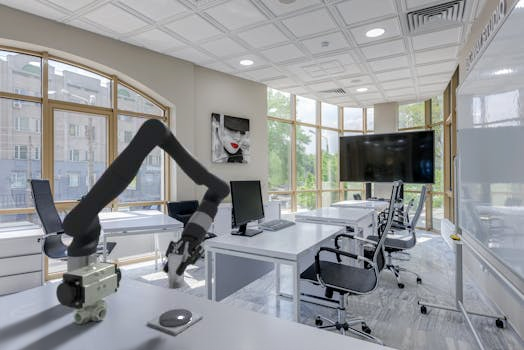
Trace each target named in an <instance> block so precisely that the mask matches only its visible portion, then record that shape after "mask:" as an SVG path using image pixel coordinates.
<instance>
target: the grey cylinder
mask: <svg viewBox="0 0 524 350" xmlns="http://www.w3.org/2000/svg"><path fill="white" fill-rule="evenodd" d="M183 257H184V254H183V253H181V252H178V251H177V252H175V253H170V254H168V258H167V260H168V273H167V274H168V275H167V277H168V278H167V283H168V284H167V285H168V286H167V287H168V288H169V289H172V290H174V289H175V290H177V289H182V288H183V287H184V286H185V272H184V273H183V274H182V275H181V276H178V275H177V274H176V271H177V269H178V267H179V265H180V264H181V262H183Z"/></svg>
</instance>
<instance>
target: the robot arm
mask: <svg viewBox="0 0 524 350" xmlns="http://www.w3.org/2000/svg"><path fill="white" fill-rule="evenodd" d="M156 147H159V148H160V149H161V150H162V151H164V152H165V153H167V155H169V156H170V157H171V159H172V160H174V162H175V163H176V164H177V165H178V167H179V168H180V169H181V170H182V172H183V173H185V175H186V176H187V177H188V178H189V179H190V180H191V181H193V183H195V184H196V185H197V186H204V187H206V188H207V190H206V191H205V193H204V195H203V197H202V200H201V202H200V203H199V204H198V207H197V209H196V210H195V212H194V213H193V214H192V216H191V217H190V218H189V220H188V222H187V224H186V225H185V227H184V229H183V230H182V232H181V237H180V238H179V239H178V240H177V241H174V240H170V241H169V244H168V247H167V249H166V252H165V254H164V256H165V258H166V259H167V261H166V262H165V264H164V266H163V268H162V271H163V272H164V273H166V274H168V254H170V253H175V252H181V253H183V254H184V257H183V262H181V264H180V265H179V267H178V269H177V271H176V274H177V275H178V276H181V275H182V274H183V273H184V274H185V270H187V268H188V266H190V265H192V266H194V265H195V264H196V263H197V261H198V260H199V259H200V258H201V257H202V255H203V254H204V253H205V248H204V247H203V246H202V245H201V244H202V243H203V242H204V240H205V238H206V236H207V234H208V233H209V230H210V228H211V226H212V223H213V222H214V219H215V218H216V216H217V214H218V211H219V206H220V205H221V203H222V202H223V201H224V200H225V199H227V198H228V197H229V195H230V194H231V187H230V185H229V184H228V182H227V181H226V179H224V178H222V177H220V176H219V175H217V174H216V173H214V172H213V171H211V170H209V169H208V168H207V166H205V165H204V164H203V163H202V162H201V161H200V160H199V159H198V158H197V157H196V156H195V155H193V154H192V152H190V151H189V150H188V149H187V148H186V147H185V145H184V144H182V143H181V141H180V140H179V139H177V137H176V135H175V134H174V133H173V131H172V130H171V128H170V127H169V125H168V124H167V123H166V122H164V121H163V120H161V119H160V118H155V117H154V118H153V117H152V118H148V119H146V120H144V121H143V123H142V124H141V126H140V127H139V128H138V130H137V132H136V133H135V134H134V136H133V137H132V139H131V140H130V142H129V143H128V145H127V146H126V147H125V148H124V149H123V150H122V151H121V152H120V153H119V155H118V156H117V157H116V158H115V159H114V160H112V161H113V162H111V164H110V165H109V166H108V167H107V168H106V169H105V170H104V172H103V173H102V174H101V176H100V177H99V178H98V179H97V181H96V182H95V183H94V185H92V187H91V188H90V190H89V191H88V192H87V194H86V195H85V196H84V197H83V198H82V199H81V200H80V201H79V202H78V203H77V204H76V205H75V206H74V207H73V208H72V209H71V210H70V211H69V212H68V213H67V214H66V215H65V216H64V217H63V220H62V224H61V225H62V226H61V228H62V232H63V233H64V234H65V235H66V236H68V237H71V238H72V241H71V243H70V244H69V245H68V247H67V249H66V254H67V255H66V258H67V260H66V264H67V266H66V267H67V272H66V273H68V272H71V271H74V270H77V269H80V268H83V267H86V266H89V263H94V264H95V263H98V245H99V244H100V243H99V242H100V228H101V227H100V226H101V225H100V224H101V222H100V217H99V214H100V213H101V212H102V210H103V209H105V208H106V206H108V205H109V204H110V203H112V202H113V201H114V200H115V199H117V198H118V197H119V196H120V195H122V193H123V192H124V191H125V190H126V189H127V188H128V187H129V186H130V184H131V183H132V182H133V181H134V179H135V178H136V177H137V174H138V173H139V171H140V170H141V167H142V165H143V162H144V161H145V160H146V159H147V157H149V154H150V153H152V151H153V150H154V149H155V148H156Z"/></svg>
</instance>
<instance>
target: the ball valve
mask: <svg viewBox="0 0 524 350" xmlns="http://www.w3.org/2000/svg"><path fill="white" fill-rule="evenodd" d="M121 280H122V271H121V269H120V267H119V266H118V263H114V262H107V261H99V262H98V261H97V263H95V264H94V263H89V266H86V267H83V268H80V269H77V270H74V271H71V272H68V273H67V272H65V273H63V274H62V279H61V283H59V284H58V285H57V287H56V290H55V291H56V298H57V300H58V302H59V304H61V305H62V306H64V307H68V308H72V309H78V310H77V311H75V312H74V315H73V319H74V322H75V323H76V324H79V325H80V324H86V323H88V322H89V321H93V322H98V321H101V320H103V319H105V317H106V316H107V313H108V310H107V309H108V307H109V305H108V302H107V301H106V299H105V298H107V297H109V296H111V295H114V293H117V292H118V288H120V282H121Z"/></svg>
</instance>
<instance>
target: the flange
mask: <svg viewBox="0 0 524 350" xmlns="http://www.w3.org/2000/svg"><path fill="white" fill-rule="evenodd" d="M201 319H204V314H203V313H199V312H195V311H192V310H188V309H185V308H182V307H179V306H174V307H172V308H170V309H169V310H167V311H164V312H163V313H161V314H159V315H158V316H155V317H154V318H152V319H151V320H148V321H147V323H146V324H147V326H151V327H153V328H156V329H159V330H161V331H163V332H166V333H169V334H172V335H175V336H177V335H178V334H180V333H181V332H183V331H184V330H186V329H188V328H189V327H190V326H192V325H194V324H195V323H197V322H198V321H199V320H201Z"/></svg>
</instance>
